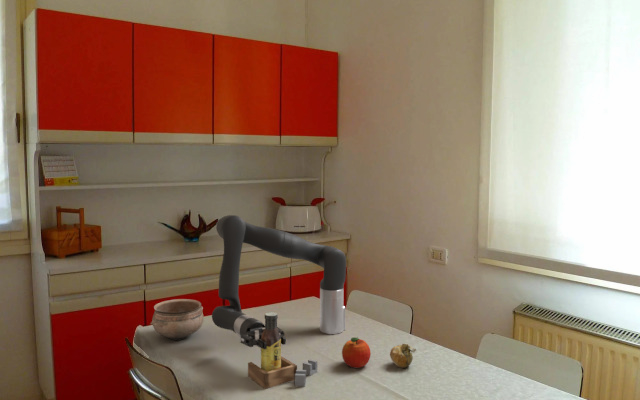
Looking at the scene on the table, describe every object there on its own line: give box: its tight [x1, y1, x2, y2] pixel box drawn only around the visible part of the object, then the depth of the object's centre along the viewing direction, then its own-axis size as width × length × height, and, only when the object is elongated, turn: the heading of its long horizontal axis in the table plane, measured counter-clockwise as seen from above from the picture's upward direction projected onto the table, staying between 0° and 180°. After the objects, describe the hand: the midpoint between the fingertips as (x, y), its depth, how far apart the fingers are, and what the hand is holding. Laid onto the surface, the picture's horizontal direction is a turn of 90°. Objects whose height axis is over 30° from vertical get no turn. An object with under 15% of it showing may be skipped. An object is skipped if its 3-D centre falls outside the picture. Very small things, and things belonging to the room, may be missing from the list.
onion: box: [389, 343, 417, 369], centre depth 178 cm, size 8×8×8 cm
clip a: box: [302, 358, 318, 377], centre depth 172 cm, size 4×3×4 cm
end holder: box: [247, 355, 298, 390], centre depth 168 cm, size 11×11×4 cm
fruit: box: [341, 336, 372, 369], centre depth 178 cm, size 10×10×10 cm
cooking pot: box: [150, 298, 205, 341], centre depth 204 cm, size 25×19×12 cm
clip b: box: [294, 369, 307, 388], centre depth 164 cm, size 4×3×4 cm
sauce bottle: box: [260, 311, 282, 372], centre depth 168 cm, size 6×6×20 cm
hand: (275, 343), depth 166 cm, fingers closed on sauce bottle, 6 cm apart
